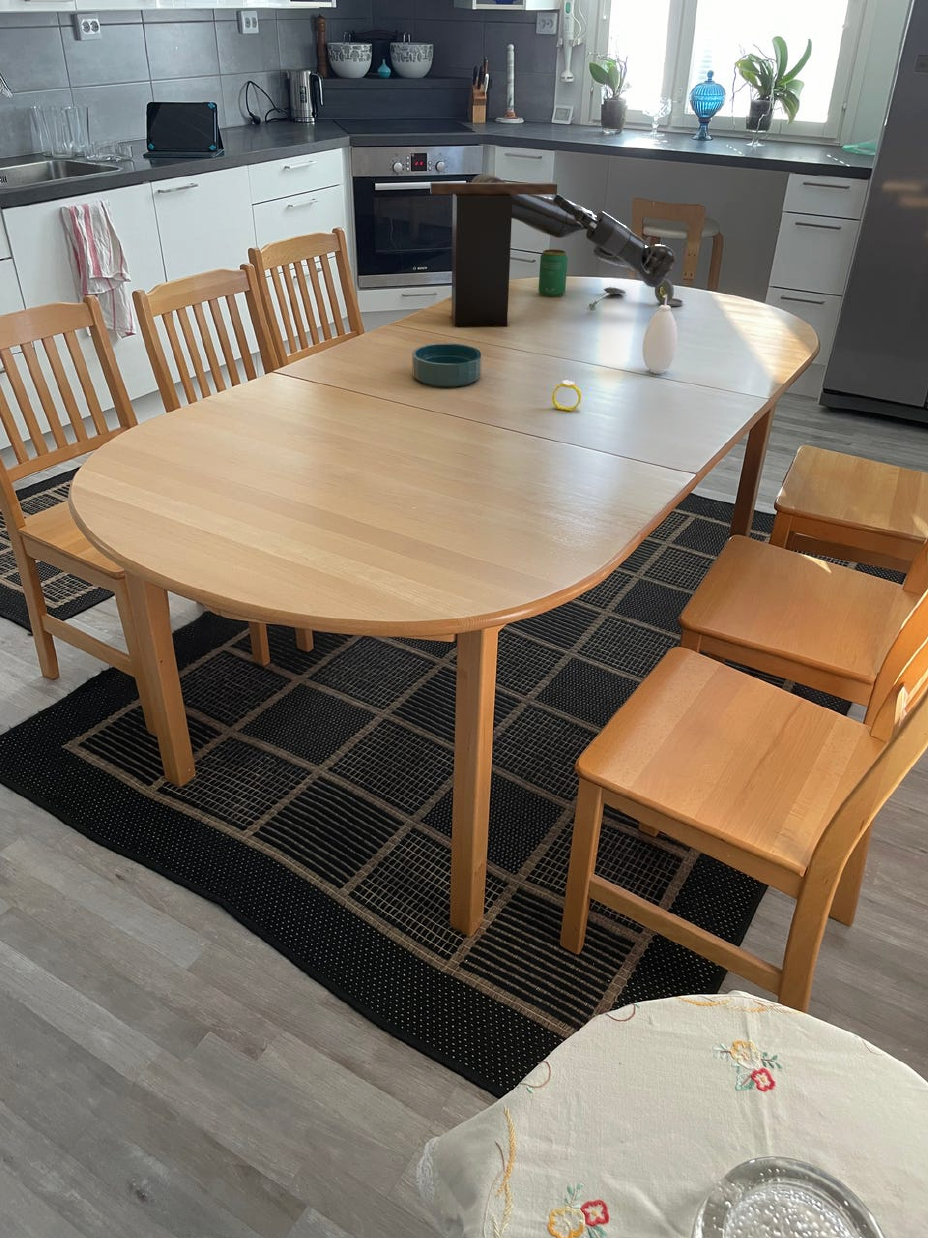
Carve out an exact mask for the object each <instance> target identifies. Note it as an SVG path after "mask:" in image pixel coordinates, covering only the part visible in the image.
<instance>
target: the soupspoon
mask: <svg viewBox="0 0 928 1238" xmlns="http://www.w3.org/2000/svg"><path fill="white" fill-rule="evenodd" d="M603 291H604V292H605V294H603V295H602V296H601V297H599V298H598V299H597V300H594V301H593V302H591V303H589V304H588V308H589V309H590V310H594V309H595V307H596V305H597V304H598V303H599V302H601V301H602V300H604V299H605V298H606V297H609V296H611V295H617V294H624V295H625V294H627V292H626V290H624V289H622V288H621V287H618V286H608V287H605V288H604V289H603Z"/></svg>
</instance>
